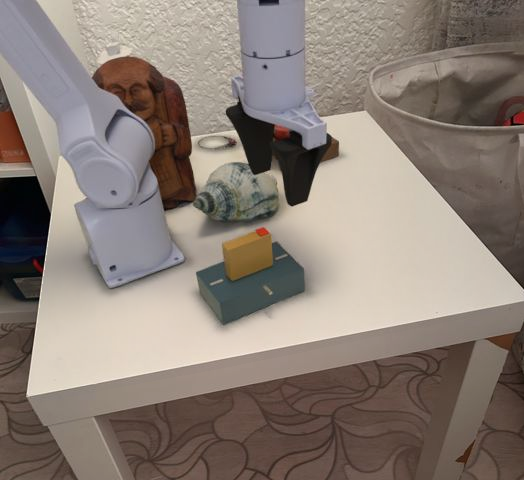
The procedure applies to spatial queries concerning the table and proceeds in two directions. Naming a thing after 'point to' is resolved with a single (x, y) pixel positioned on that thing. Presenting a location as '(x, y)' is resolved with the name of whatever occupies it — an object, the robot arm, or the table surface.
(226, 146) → the necklace
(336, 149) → the button block
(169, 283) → the table surface
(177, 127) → the wooden figurine
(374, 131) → the table surface
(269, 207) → the seashell
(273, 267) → the plate
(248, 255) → the tap handle
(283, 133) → the button
